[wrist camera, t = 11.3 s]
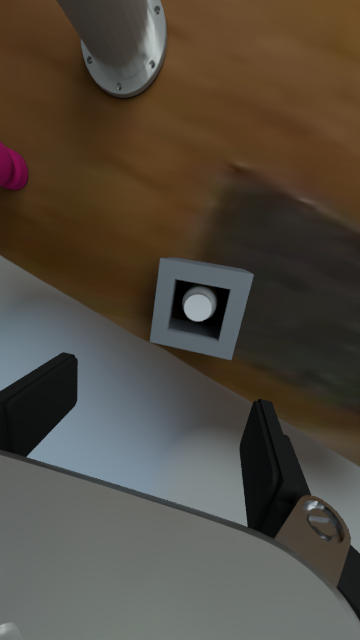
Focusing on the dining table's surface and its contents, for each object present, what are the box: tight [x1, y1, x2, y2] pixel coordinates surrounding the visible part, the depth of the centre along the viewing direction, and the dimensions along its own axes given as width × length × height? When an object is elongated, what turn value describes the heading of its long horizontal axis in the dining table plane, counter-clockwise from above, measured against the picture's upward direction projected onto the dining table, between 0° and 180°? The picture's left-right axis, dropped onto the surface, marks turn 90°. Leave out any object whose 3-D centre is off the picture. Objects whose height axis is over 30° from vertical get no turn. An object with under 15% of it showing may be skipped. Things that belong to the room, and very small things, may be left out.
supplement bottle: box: [182, 283, 217, 321], centre depth 35 cm, size 5×5×10 cm
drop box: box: [150, 258, 254, 360], centre depth 34 cm, size 12×12×11 cm
